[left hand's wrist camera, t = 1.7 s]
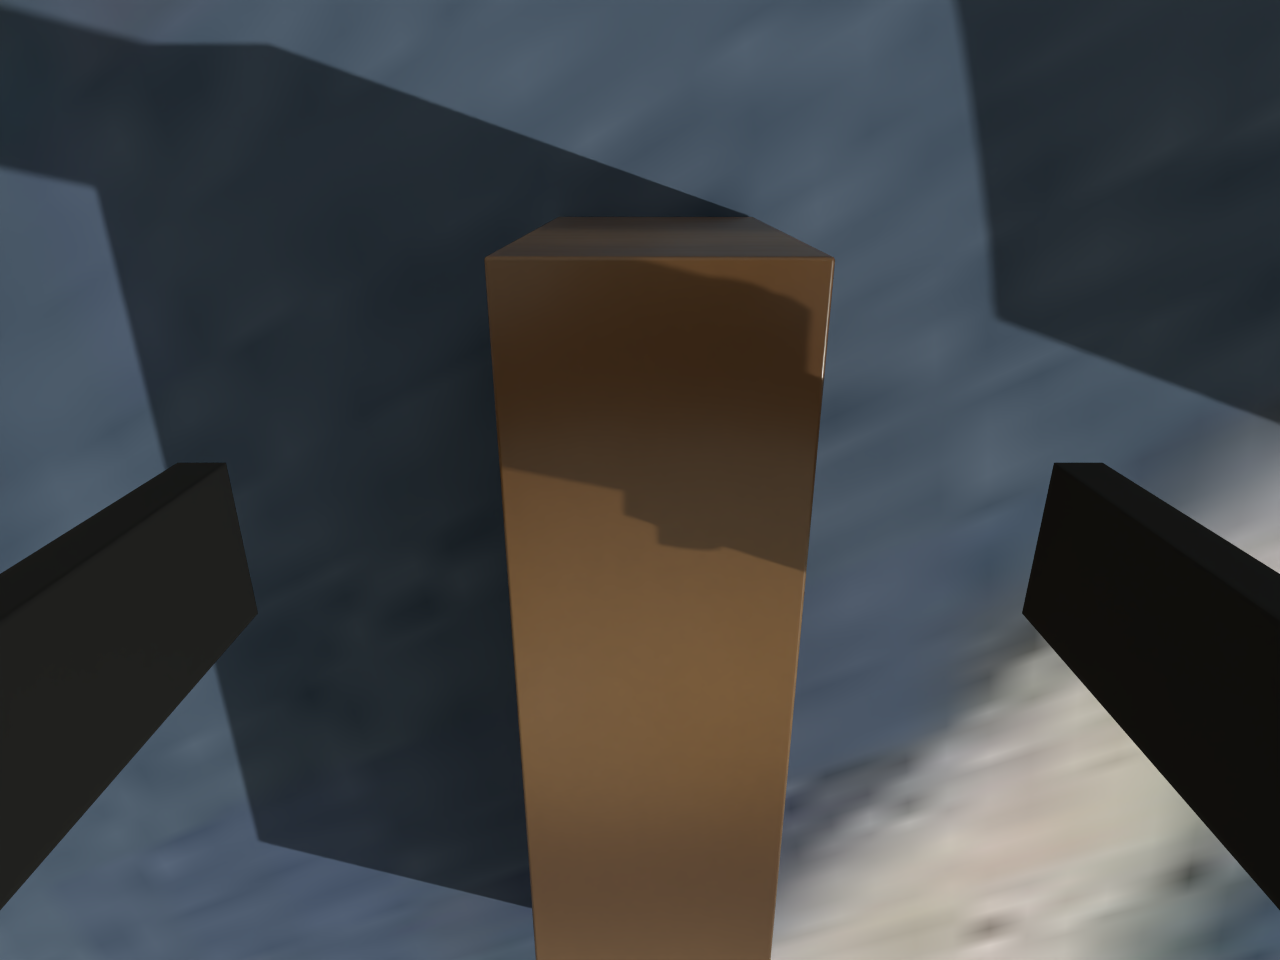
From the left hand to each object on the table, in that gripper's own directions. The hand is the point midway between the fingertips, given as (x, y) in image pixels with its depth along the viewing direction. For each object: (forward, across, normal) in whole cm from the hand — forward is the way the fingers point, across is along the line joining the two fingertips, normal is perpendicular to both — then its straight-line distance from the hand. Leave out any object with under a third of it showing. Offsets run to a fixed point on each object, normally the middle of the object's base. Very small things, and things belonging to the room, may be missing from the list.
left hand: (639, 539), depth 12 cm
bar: (+7, 0, -7) cm, 10 cm away
